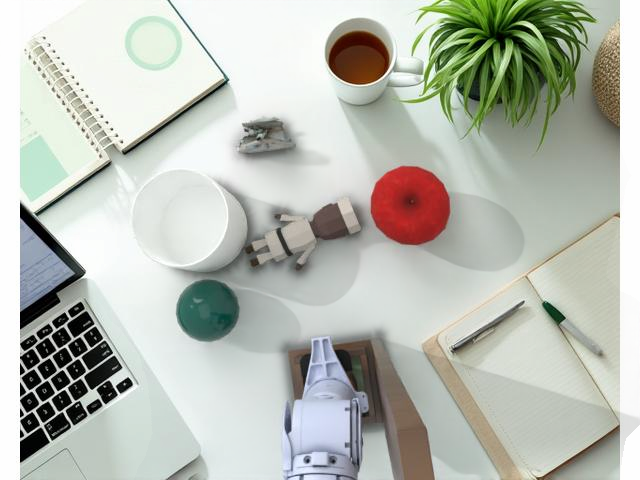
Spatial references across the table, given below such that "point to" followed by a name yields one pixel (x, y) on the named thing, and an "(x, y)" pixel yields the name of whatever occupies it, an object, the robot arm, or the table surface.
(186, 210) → the cup
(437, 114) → the table surface
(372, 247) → the table surface
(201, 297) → the sphere
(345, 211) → the toy
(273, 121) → the grey irregular chunk
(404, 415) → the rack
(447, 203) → the apple
